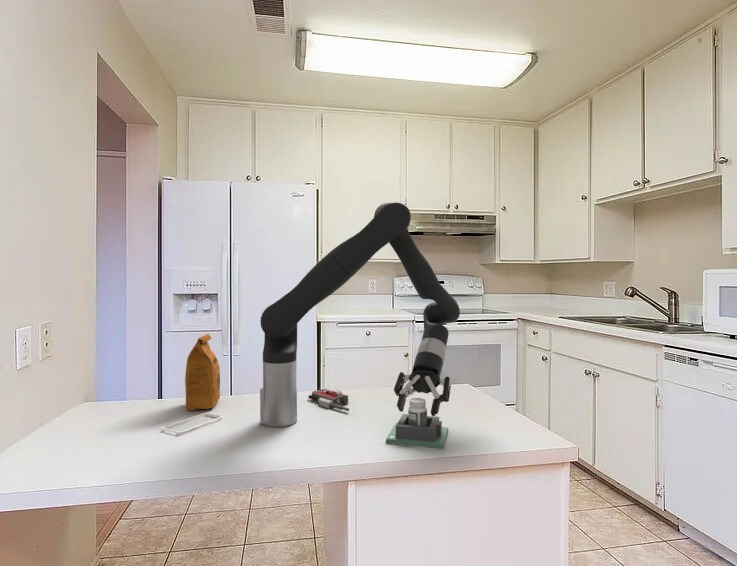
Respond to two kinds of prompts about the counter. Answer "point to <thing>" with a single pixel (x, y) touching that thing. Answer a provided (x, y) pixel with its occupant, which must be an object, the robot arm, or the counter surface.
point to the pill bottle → (417, 412)
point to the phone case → (191, 420)
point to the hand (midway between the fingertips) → (416, 412)
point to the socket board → (418, 433)
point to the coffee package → (202, 376)
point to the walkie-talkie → (330, 398)
